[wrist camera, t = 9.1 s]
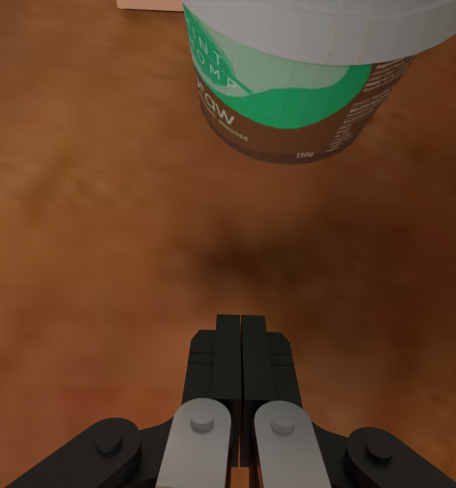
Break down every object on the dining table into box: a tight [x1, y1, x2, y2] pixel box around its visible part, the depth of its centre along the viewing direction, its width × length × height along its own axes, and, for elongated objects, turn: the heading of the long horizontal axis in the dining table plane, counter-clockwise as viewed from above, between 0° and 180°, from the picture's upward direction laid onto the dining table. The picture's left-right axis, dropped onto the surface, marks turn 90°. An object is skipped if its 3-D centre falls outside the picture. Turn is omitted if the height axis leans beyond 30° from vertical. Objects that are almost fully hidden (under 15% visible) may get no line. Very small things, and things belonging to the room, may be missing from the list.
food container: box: [180, 0, 456, 164], centre depth 17 cm, size 12×6×10 cm, turn 41°
